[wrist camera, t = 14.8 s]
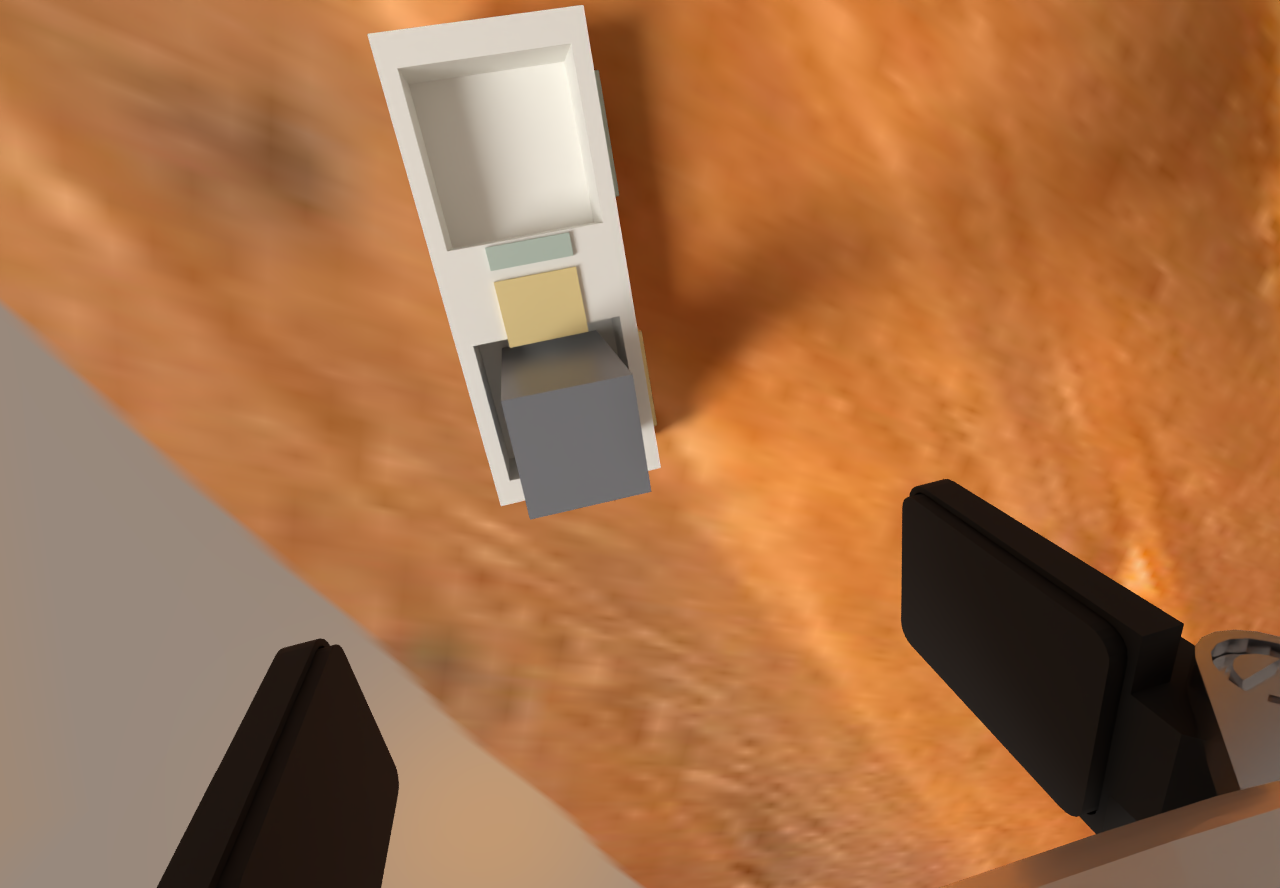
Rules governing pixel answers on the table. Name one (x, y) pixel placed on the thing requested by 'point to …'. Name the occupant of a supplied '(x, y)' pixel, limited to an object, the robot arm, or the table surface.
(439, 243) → the socket block
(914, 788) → the table surface
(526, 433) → the plug
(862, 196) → the table surface
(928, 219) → the table surface
